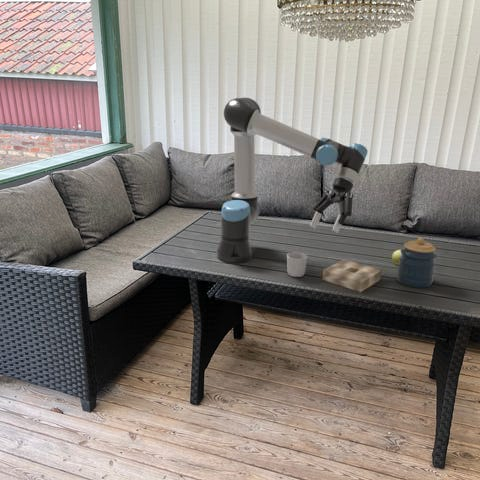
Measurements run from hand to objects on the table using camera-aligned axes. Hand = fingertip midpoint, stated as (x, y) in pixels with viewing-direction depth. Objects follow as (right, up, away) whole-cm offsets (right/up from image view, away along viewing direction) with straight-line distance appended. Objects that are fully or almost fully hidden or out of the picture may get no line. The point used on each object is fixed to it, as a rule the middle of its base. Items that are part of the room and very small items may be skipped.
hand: (323, 229), depth 178 cm
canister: (+34, -20, -4) cm, 40 cm away
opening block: (+10, -19, -4) cm, 22 cm away
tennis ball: (+34, -15, +14) cm, 40 cm away
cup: (-10, -18, 0) cm, 20 cm away
